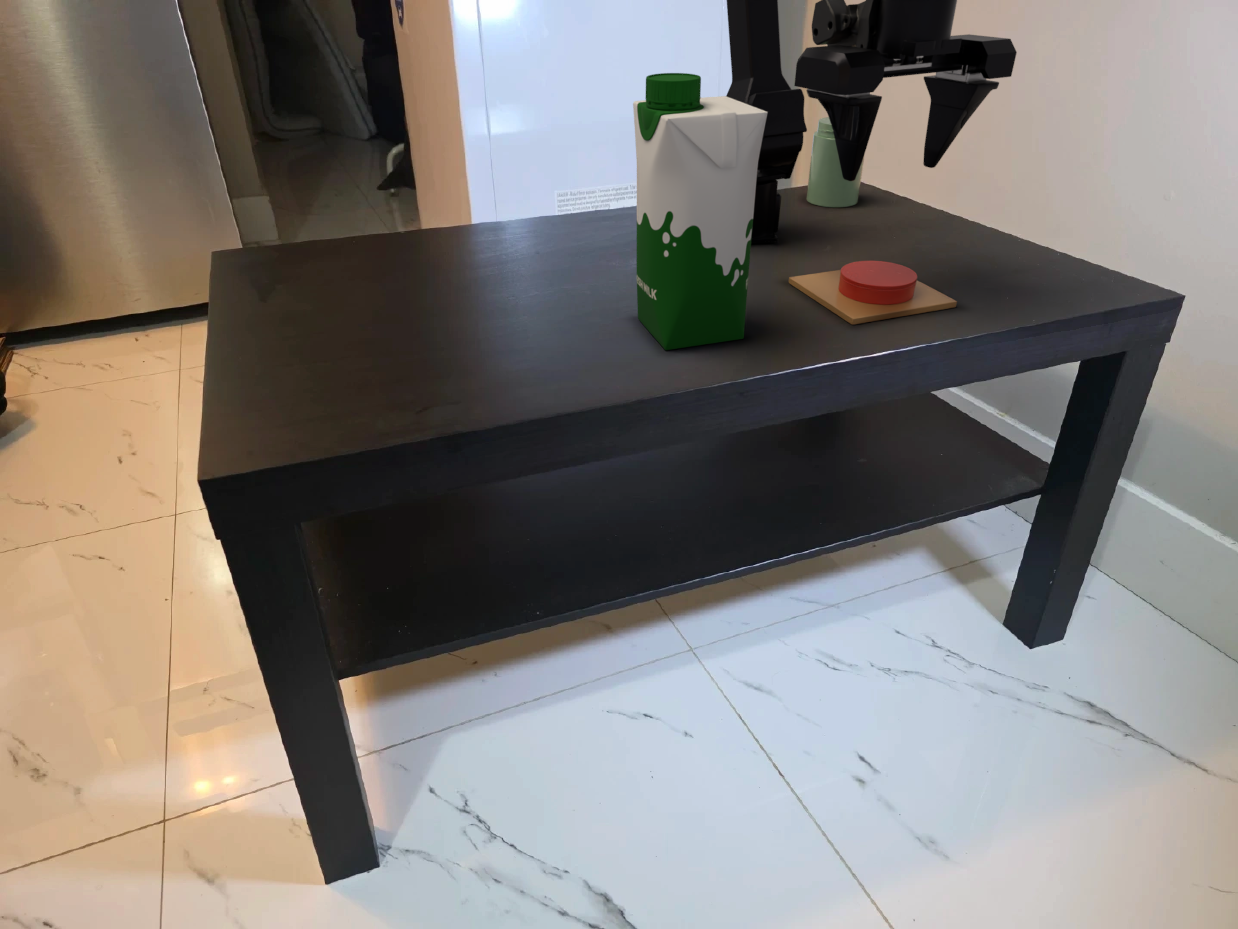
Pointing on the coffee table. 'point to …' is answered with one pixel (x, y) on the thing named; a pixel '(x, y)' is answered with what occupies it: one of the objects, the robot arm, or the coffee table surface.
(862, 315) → the coaster
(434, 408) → the coffee table surface
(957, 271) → the coffee table surface
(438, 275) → the coffee table surface
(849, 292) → the lid
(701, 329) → the milk carton
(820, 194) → the jar
